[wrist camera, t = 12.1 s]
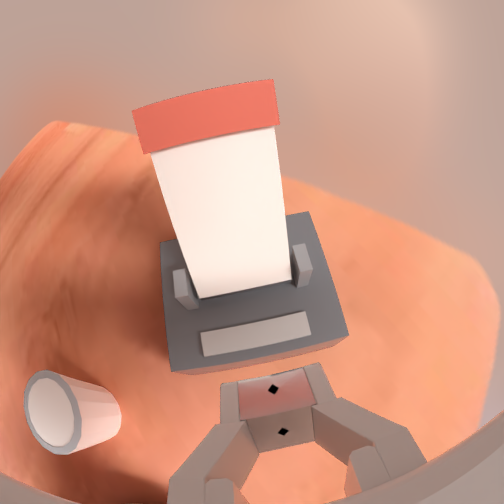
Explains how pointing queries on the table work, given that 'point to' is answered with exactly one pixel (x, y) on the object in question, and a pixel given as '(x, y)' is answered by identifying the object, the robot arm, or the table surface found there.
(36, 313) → the table surface
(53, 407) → the shot glass
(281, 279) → the lever
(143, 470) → the table surface
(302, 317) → the switch box
